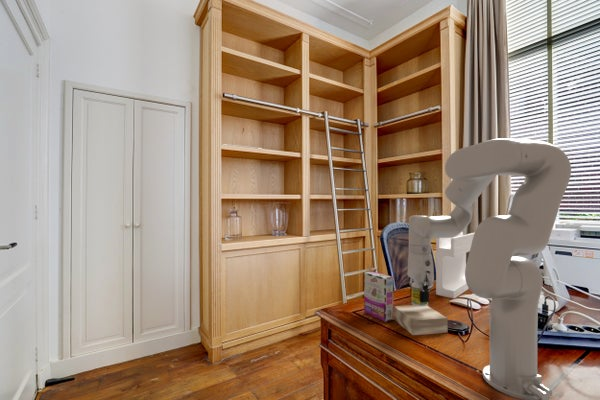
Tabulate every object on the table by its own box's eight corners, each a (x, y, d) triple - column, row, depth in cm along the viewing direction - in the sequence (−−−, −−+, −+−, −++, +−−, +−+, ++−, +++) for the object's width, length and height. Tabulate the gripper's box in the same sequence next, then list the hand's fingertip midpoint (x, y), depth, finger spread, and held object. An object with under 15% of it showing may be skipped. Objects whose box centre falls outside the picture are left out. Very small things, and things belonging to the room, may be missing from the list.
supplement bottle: (428, 303, 105) (428, 277, 105) (426, 308, 101) (426, 280, 101) (412, 300, 108) (412, 275, 108) (410, 305, 103) (410, 278, 103)
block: (460, 280, 163) (460, 231, 163) (476, 283, 157) (476, 232, 157) (436, 294, 139) (436, 236, 139) (453, 298, 133) (454, 238, 133)
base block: (447, 332, 99) (447, 318, 99) (412, 335, 97) (412, 320, 97) (425, 317, 112) (425, 304, 112) (394, 319, 110) (394, 306, 110)
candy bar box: (394, 319, 109) (394, 276, 109) (385, 322, 107) (385, 278, 107) (372, 310, 119) (372, 270, 119) (363, 312, 116) (363, 272, 116)
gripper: (444, 253, 96) (444, 307, 96) (415, 245, 113) (415, 291, 113) (424, 254, 95) (423, 308, 95) (398, 245, 112) (398, 292, 112)
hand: (419, 298), depth 104 cm, fingers closed on supplement bottle, 5 cm apart
